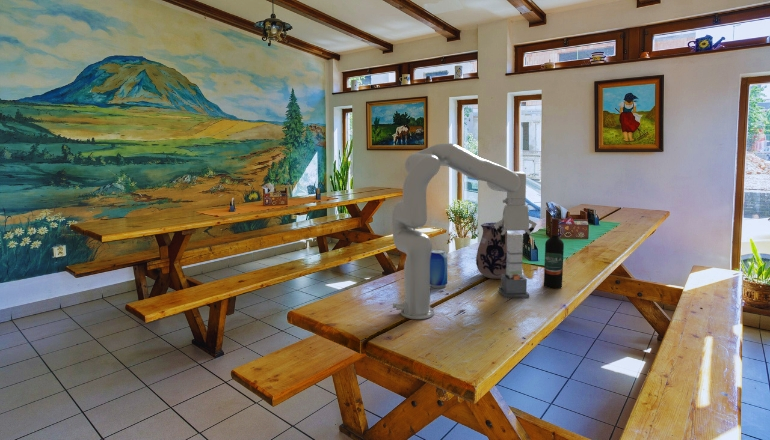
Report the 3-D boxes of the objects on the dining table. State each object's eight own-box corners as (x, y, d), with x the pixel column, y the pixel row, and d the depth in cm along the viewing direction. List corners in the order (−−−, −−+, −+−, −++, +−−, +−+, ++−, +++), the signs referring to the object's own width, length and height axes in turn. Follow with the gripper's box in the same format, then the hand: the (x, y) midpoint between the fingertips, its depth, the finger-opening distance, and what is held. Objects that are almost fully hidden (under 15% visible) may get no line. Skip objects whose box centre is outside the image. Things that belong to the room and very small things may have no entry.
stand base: (504, 298, 189) (505, 277, 187) (498, 290, 198) (498, 270, 197) (529, 297, 189) (529, 276, 187) (521, 289, 199) (522, 269, 197)
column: (509, 278, 190) (510, 235, 187) (505, 275, 195) (506, 233, 192) (522, 278, 190) (523, 235, 187) (518, 274, 195) (519, 233, 192)
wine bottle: (564, 285, 203) (567, 218, 198) (557, 289, 197) (560, 221, 192) (548, 282, 208) (550, 216, 203) (540, 286, 203) (543, 219, 197)
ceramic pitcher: (476, 281, 212) (477, 228, 207) (475, 268, 232) (475, 220, 228) (515, 282, 209) (517, 228, 204) (511, 269, 229) (512, 220, 225)
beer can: (450, 284, 208) (450, 249, 206) (442, 289, 201) (442, 254, 199) (433, 281, 213) (433, 248, 210) (425, 286, 206) (424, 251, 203)
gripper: (496, 204, 183) (496, 246, 186) (540, 202, 183) (538, 245, 186) (492, 201, 191) (491, 242, 193) (533, 200, 191) (532, 241, 194)
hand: (514, 243), depth 190 cm, fingers open, 9 cm apart
